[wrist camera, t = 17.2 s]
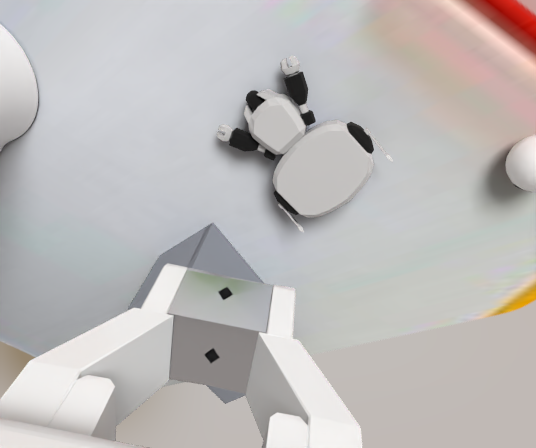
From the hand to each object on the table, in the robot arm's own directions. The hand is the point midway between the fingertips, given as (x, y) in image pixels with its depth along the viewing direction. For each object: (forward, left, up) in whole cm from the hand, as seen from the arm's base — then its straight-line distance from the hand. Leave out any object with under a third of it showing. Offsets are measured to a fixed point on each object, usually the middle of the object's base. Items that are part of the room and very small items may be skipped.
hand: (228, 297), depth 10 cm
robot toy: (+2, -8, -37) cm, 38 cm away
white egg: (+26, -5, -37) cm, 46 cm away
